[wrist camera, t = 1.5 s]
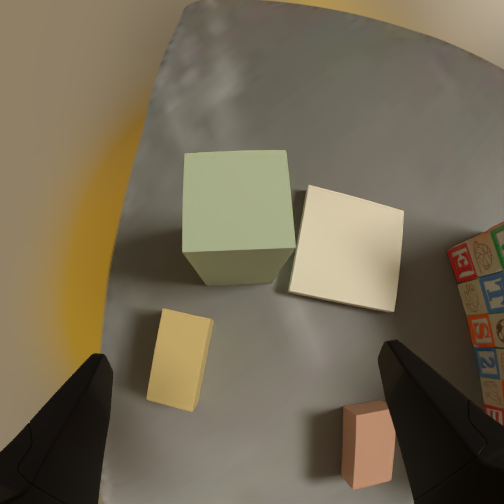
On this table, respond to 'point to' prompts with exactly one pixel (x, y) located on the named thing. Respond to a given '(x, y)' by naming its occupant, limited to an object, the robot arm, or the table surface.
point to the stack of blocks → (484, 309)
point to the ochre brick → (179, 359)
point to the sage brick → (237, 215)
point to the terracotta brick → (367, 444)
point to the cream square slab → (347, 251)
